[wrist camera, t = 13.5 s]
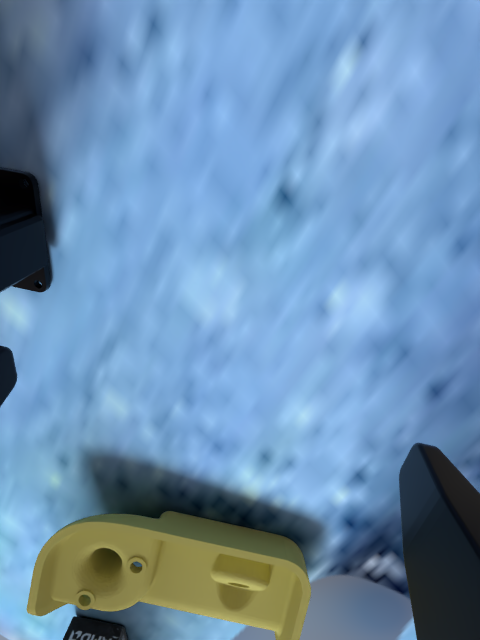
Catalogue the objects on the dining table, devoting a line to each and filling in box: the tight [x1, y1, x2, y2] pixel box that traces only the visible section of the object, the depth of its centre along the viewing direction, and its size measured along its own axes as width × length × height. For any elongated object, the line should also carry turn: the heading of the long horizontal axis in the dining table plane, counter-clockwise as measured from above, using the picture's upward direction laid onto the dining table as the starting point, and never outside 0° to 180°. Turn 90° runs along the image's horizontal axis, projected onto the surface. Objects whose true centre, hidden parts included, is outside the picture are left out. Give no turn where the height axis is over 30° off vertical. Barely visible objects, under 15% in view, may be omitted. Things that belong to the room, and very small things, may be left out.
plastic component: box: [27, 511, 311, 640], centre depth 31 cm, size 20×7×10 cm
